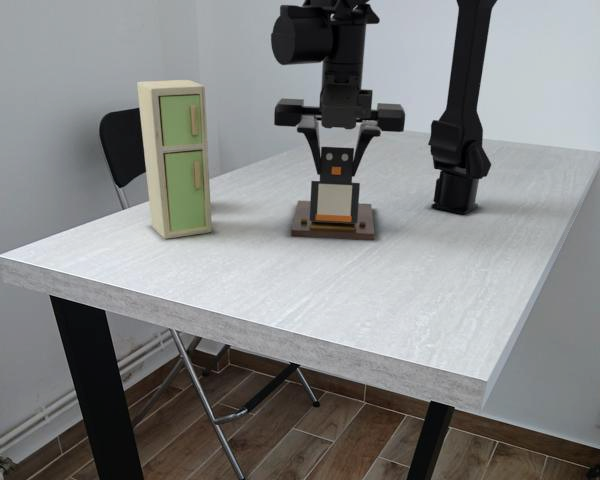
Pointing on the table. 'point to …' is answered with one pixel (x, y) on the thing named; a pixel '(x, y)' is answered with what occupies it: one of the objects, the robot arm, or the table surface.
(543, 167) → the table surface
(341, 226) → the stand
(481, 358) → the table surface
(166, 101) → the toy refrigerator
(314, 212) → the penguin
